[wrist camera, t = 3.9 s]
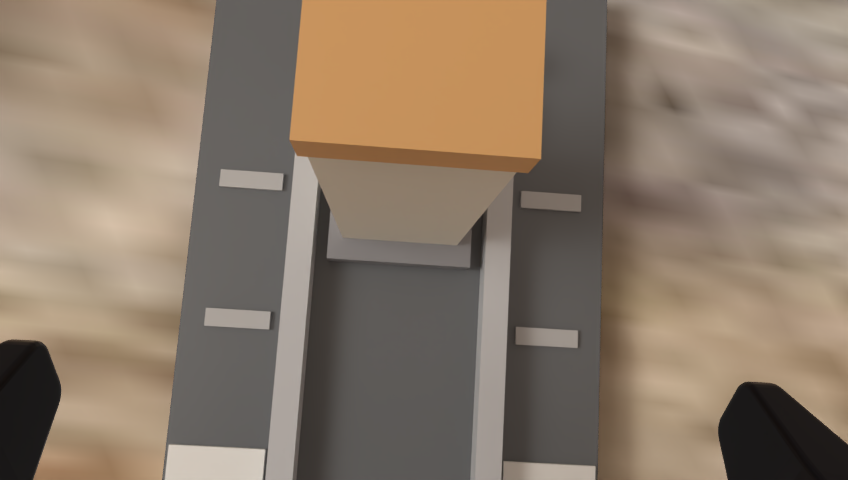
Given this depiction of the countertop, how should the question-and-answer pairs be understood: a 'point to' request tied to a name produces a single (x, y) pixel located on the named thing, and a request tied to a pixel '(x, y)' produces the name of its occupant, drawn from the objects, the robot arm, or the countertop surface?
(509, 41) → the fader
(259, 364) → the grey slider track
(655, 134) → the countertop surface
